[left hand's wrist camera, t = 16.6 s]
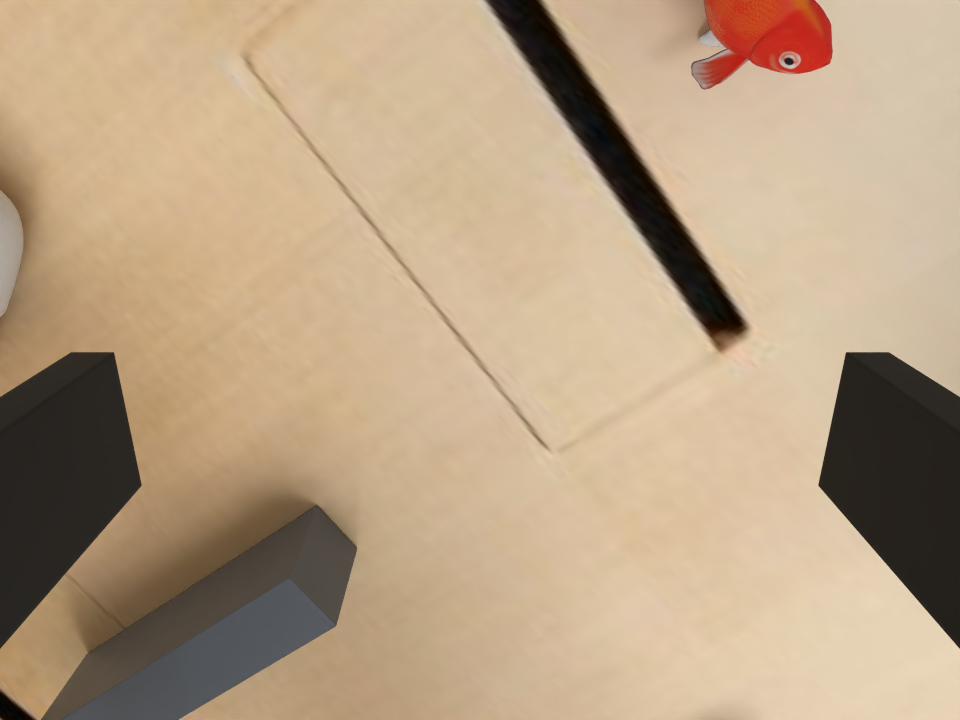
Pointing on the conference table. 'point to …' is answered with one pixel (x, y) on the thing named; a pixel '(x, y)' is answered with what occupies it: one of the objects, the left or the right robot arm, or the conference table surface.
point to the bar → (217, 629)
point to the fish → (764, 37)
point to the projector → (9, 249)
